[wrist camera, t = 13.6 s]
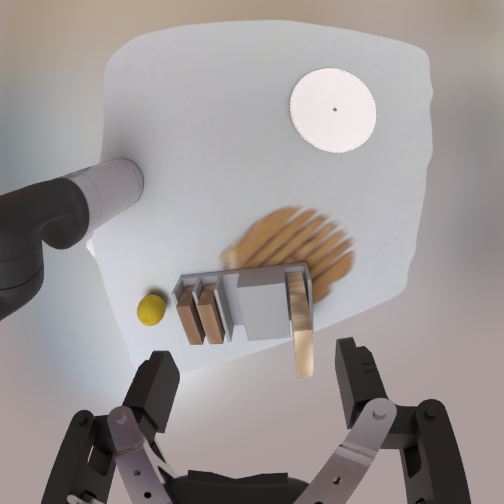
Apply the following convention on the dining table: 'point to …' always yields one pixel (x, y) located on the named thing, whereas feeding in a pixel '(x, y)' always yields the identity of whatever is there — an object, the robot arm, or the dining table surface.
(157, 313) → the lemon
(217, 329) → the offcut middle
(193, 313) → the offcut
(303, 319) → the wooden block
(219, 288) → the rack
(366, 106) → the plastic lid
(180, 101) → the dining table surface
